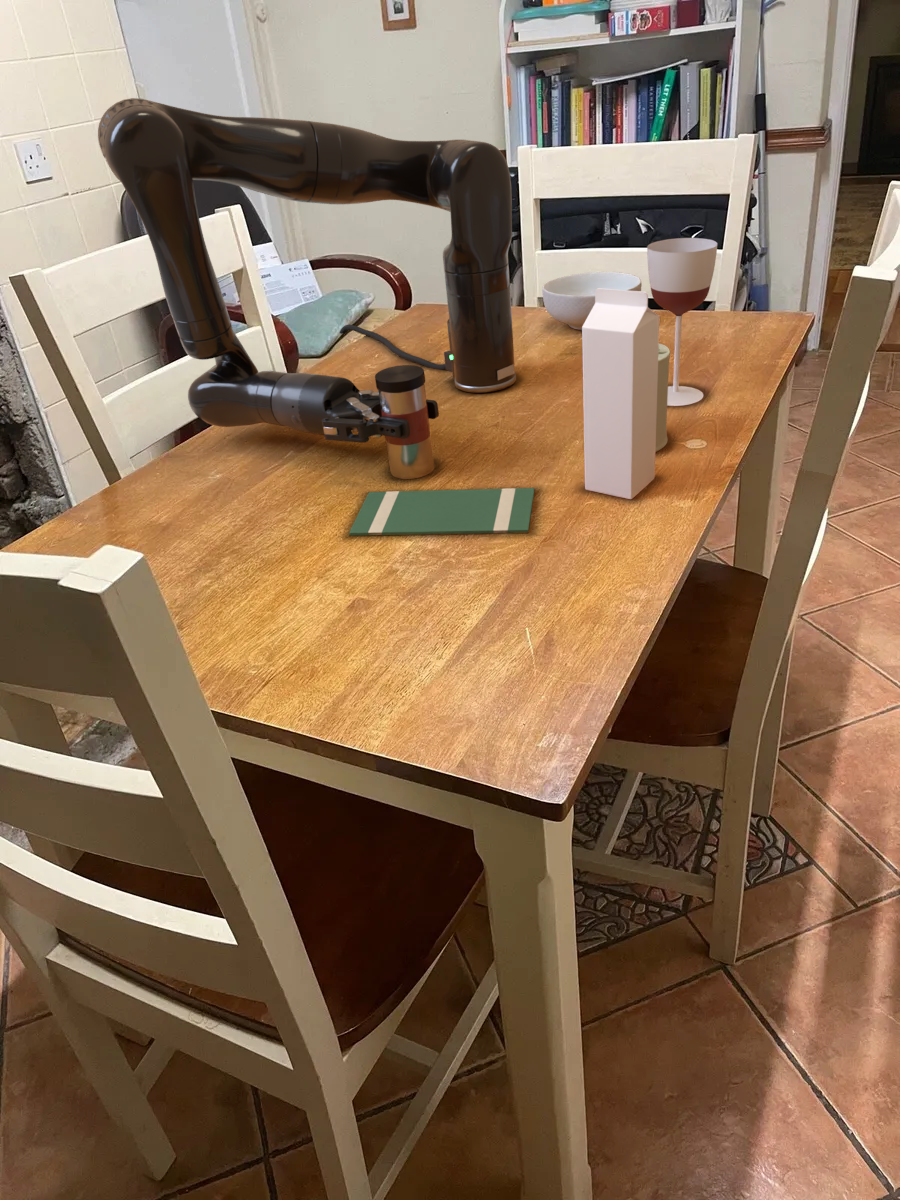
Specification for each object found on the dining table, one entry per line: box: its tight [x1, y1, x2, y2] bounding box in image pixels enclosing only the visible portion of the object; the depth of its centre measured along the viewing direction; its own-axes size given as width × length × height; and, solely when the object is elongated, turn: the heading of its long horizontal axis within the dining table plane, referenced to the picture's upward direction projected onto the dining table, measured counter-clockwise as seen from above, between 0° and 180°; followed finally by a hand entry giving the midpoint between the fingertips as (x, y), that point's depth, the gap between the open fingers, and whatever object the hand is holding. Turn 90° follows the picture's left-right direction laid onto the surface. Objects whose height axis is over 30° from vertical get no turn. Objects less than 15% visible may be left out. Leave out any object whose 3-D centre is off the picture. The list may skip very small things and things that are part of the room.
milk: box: [581, 288, 660, 500], centre depth 95 cm, size 6×6×22 cm
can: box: [655, 342, 671, 453], centre depth 107 cm, size 9×9×12 cm
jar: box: [374, 364, 435, 480], centre depth 107 cm, size 6×6×12 cm
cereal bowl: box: [541, 271, 642, 331], centre depth 152 cm, size 17×17×7 cm
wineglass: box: [646, 237, 718, 407], centre depth 116 cm, size 8×9×20 cm
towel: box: [348, 487, 536, 537], centre depth 99 cm, size 10×20×1 cm, turn 81°
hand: (422, 419), depth 105 cm, fingers closed on jar, 5 cm apart
